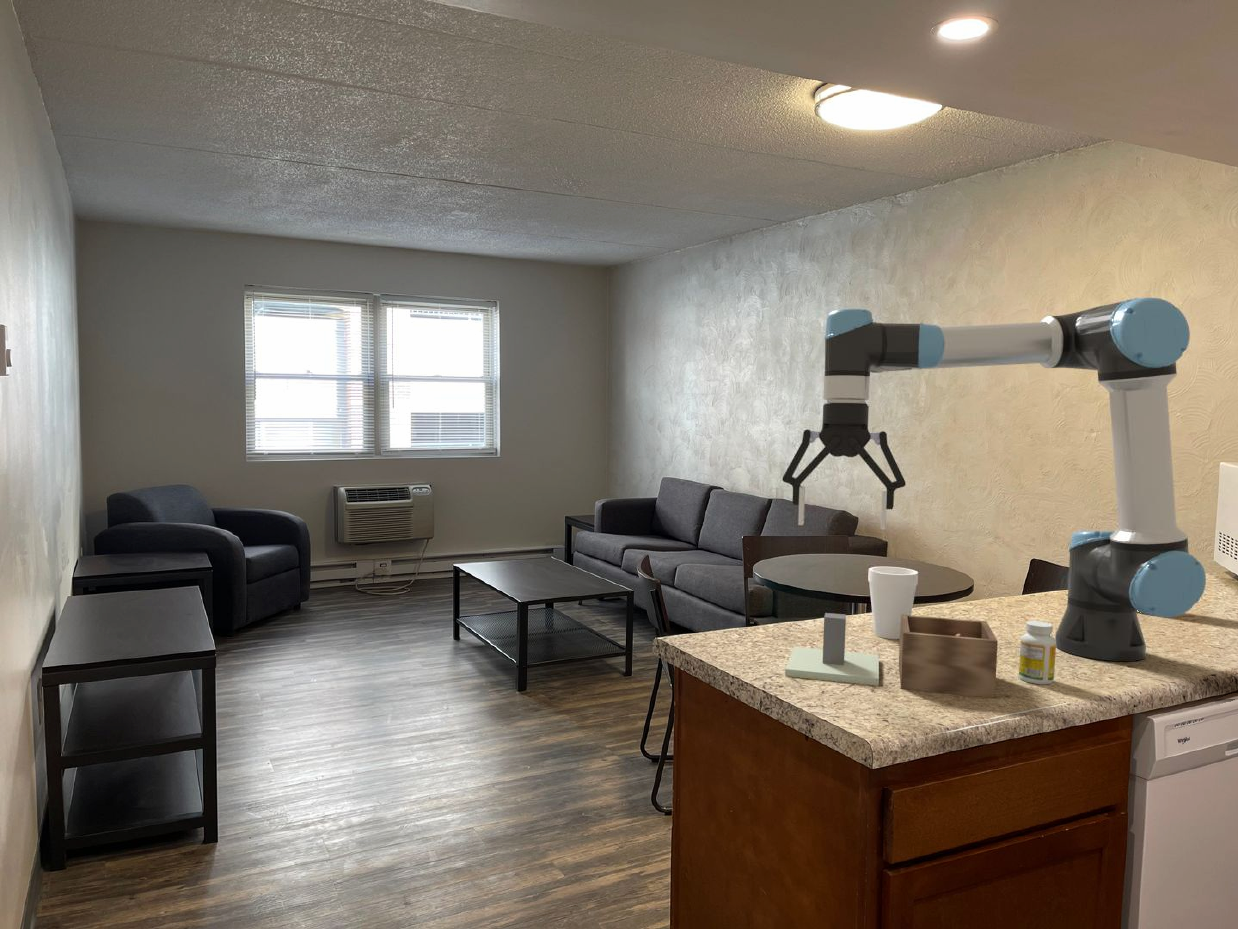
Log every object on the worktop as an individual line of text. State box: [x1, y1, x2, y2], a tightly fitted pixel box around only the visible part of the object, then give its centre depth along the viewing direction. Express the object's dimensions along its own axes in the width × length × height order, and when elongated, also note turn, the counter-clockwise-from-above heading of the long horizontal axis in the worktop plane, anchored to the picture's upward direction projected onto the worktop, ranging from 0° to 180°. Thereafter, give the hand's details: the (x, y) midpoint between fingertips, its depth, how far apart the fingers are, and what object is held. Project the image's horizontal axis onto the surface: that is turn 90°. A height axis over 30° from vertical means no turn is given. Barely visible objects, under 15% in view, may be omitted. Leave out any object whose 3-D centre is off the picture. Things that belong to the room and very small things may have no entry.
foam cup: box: [867, 566, 919, 640], centre depth 176 cm, size 10×9×13 cm
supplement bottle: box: [1018, 620, 1057, 685], centre depth 148 cm, size 5×5×10 cm
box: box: [898, 614, 998, 699], centre depth 146 cm, size 14×14×9 cm
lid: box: [784, 612, 880, 686], centre depth 152 cm, size 15×15×10 cm
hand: (841, 526), depth 151 cm, fingers open, 13 cm apart
